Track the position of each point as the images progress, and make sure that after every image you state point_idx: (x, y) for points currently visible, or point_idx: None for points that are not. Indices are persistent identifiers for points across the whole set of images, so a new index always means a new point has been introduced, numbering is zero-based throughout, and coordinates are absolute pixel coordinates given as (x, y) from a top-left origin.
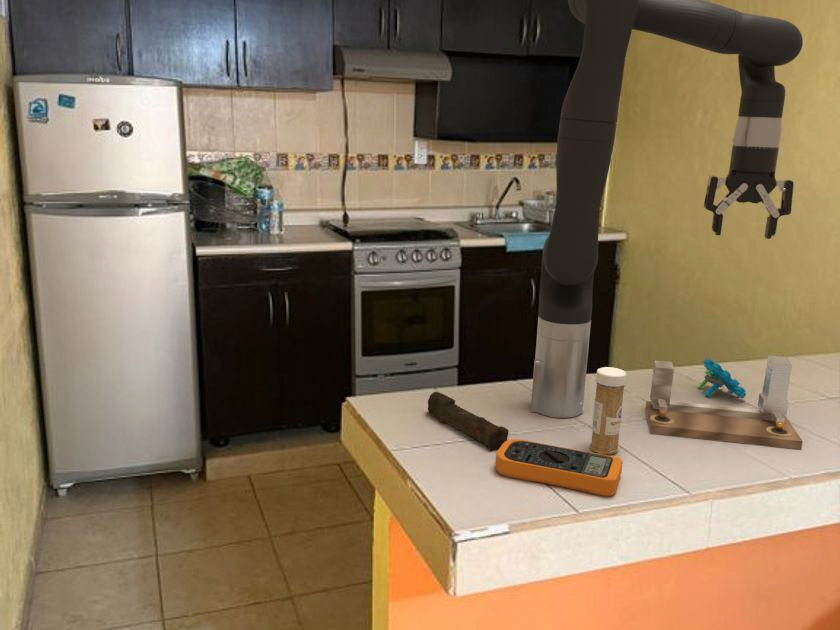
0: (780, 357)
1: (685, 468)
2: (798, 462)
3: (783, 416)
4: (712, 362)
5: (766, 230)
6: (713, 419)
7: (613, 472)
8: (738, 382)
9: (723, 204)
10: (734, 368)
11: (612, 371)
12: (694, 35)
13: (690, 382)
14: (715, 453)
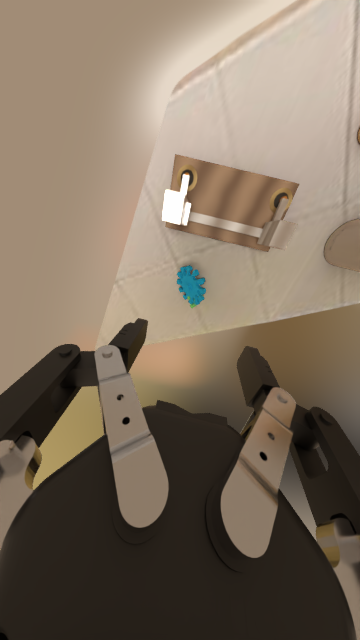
0: (169, 216)
1: (315, 77)
2: (191, 119)
3: None
4: (201, 289)
5: (140, 342)
6: (231, 207)
7: None
8: (187, 266)
9: (282, 418)
10: (160, 333)
11: None
12: None
13: (202, 308)
14: (259, 134)
